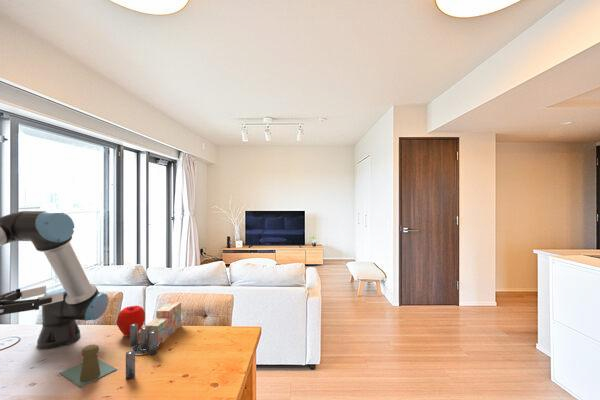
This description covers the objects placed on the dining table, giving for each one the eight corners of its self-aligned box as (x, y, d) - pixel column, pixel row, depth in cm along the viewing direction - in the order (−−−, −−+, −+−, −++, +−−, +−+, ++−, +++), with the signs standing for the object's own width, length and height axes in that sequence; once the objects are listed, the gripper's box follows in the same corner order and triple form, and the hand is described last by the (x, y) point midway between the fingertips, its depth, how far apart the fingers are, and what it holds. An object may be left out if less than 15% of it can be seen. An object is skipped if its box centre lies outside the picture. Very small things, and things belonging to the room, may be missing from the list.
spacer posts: (93, 361, 116) (93, 338, 116) (136, 342, 132) (136, 322, 132) (128, 380, 104) (128, 355, 104) (172, 357, 119) (172, 335, 119)
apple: (124, 343, 131) (124, 313, 131) (111, 336, 137) (111, 308, 137) (150, 332, 141) (150, 305, 141) (136, 327, 147) (136, 300, 147)
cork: (88, 383, 102) (88, 351, 102) (75, 380, 103) (75, 349, 103) (104, 373, 108) (104, 343, 108) (91, 370, 109) (91, 341, 109)
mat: (59, 373, 108) (59, 372, 108) (95, 358, 119) (95, 357, 119) (80, 387, 100) (80, 386, 100) (116, 369, 110) (116, 368, 110)
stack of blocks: (158, 347, 128) (158, 319, 128) (144, 346, 128) (144, 318, 128) (181, 325, 149) (181, 301, 149) (169, 325, 150) (169, 301, 150)
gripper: (-49, 317, 90) (39, 297, 108) (-25, 337, 77) (70, 310, 95) (-49, 293, 90) (39, 277, 108) (-25, 309, 77) (70, 287, 95)
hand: (54, 292), depth 102 cm, fingers open, 13 cm apart
